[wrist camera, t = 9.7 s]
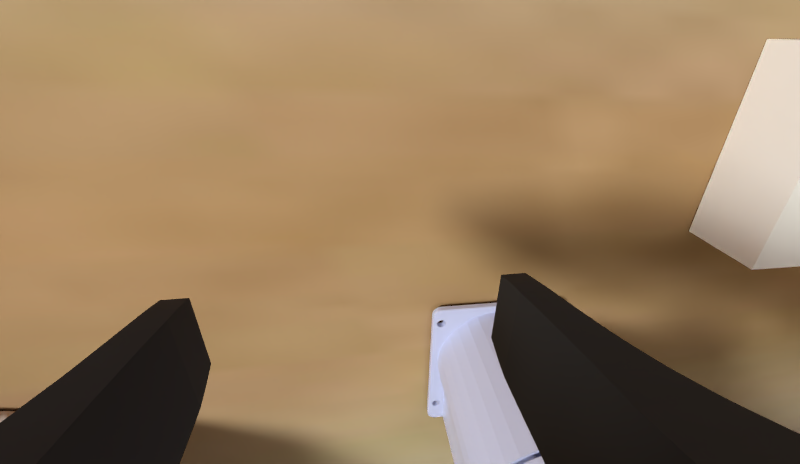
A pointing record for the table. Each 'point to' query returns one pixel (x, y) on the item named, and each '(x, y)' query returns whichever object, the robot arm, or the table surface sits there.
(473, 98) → the table surface
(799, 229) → the painted block
